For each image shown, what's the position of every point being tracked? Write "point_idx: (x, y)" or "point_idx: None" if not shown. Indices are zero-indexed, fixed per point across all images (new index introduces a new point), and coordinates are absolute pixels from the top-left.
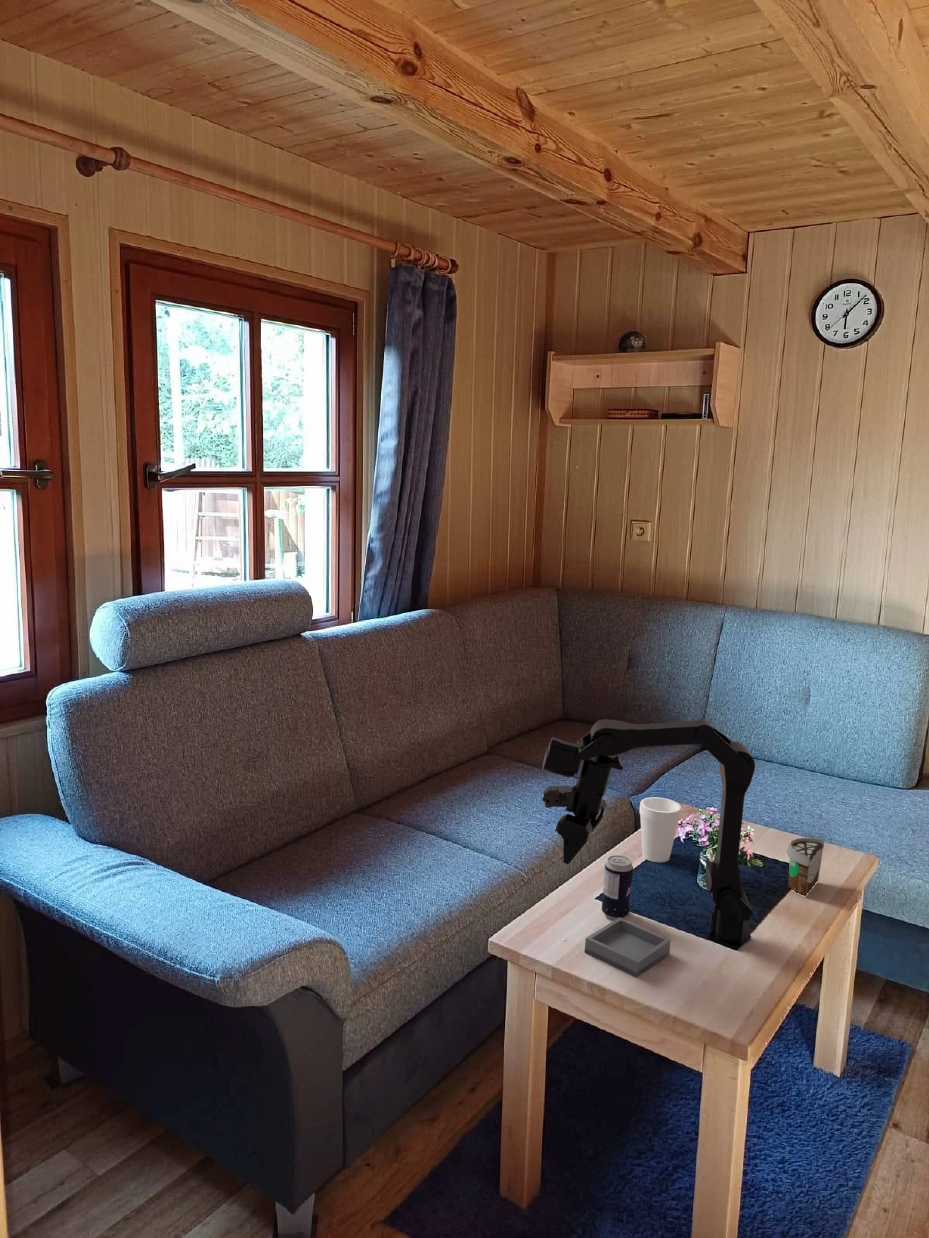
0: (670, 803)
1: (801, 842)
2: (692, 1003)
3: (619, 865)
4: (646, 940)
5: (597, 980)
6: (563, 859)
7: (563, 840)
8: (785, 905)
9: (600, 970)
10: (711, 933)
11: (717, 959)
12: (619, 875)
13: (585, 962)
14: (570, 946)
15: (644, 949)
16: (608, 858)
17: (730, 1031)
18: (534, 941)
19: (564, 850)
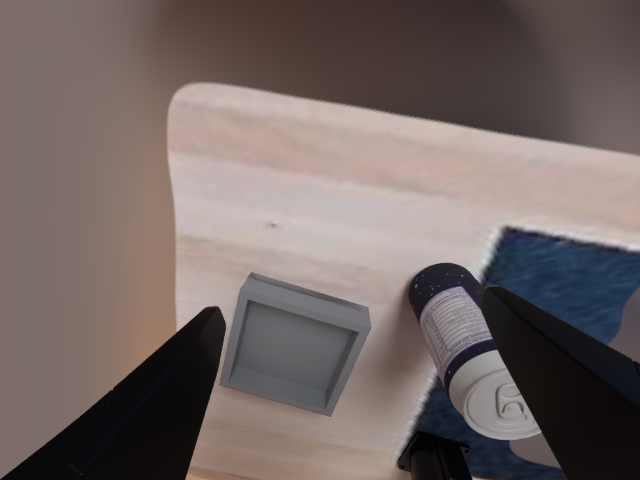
0: None
1: None
2: (218, 427)
3: (470, 409)
4: (337, 366)
5: (181, 313)
6: (192, 319)
7: (5, 476)
8: None
9: None
10: (428, 439)
11: (355, 444)
12: (443, 385)
13: (220, 282)
14: (256, 242)
15: (307, 366)
16: None
17: (191, 462)
18: (226, 165)
19: (134, 377)
